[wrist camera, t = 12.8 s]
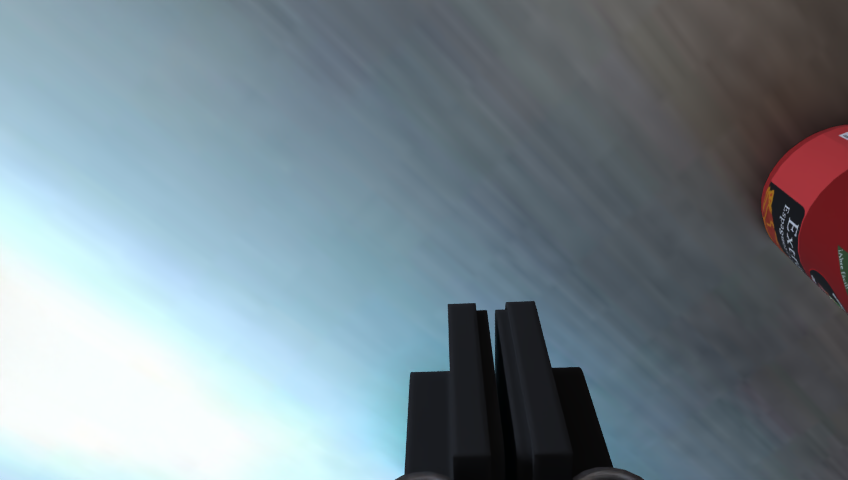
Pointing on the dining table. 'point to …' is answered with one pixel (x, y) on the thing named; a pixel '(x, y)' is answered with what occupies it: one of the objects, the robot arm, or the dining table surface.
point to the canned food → (813, 209)
